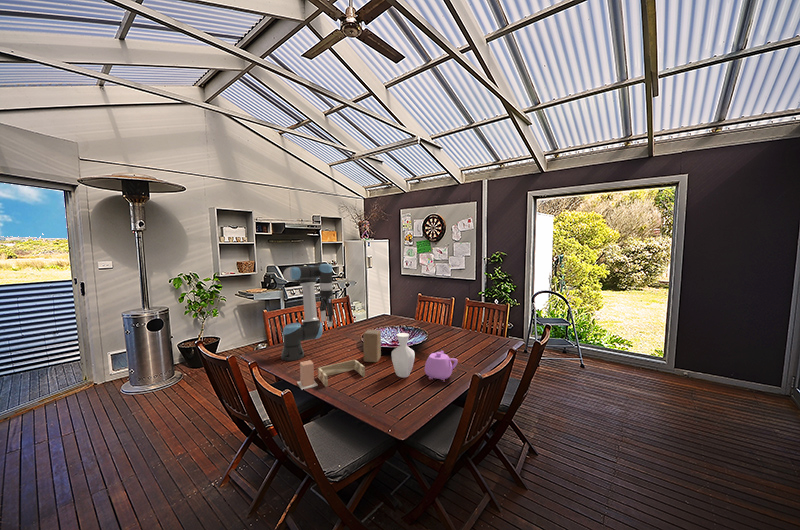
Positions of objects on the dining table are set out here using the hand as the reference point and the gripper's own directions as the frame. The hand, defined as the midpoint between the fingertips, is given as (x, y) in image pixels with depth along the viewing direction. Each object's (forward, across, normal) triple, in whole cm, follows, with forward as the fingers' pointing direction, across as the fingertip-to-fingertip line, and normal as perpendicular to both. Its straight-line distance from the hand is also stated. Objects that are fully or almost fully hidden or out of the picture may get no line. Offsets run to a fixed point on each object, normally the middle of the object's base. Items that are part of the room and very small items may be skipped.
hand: (326, 323), depth 184 cm
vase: (+31, +26, +39) cm, 56 cm away
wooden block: (+31, -5, +33) cm, 46 cm away
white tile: (+31, +9, -14) cm, 35 cm away
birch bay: (+31, +10, +6) cm, 33 cm away
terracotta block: (+30, +9, -14) cm, 35 cm away
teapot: (+31, +39, +59) cm, 77 cm away
